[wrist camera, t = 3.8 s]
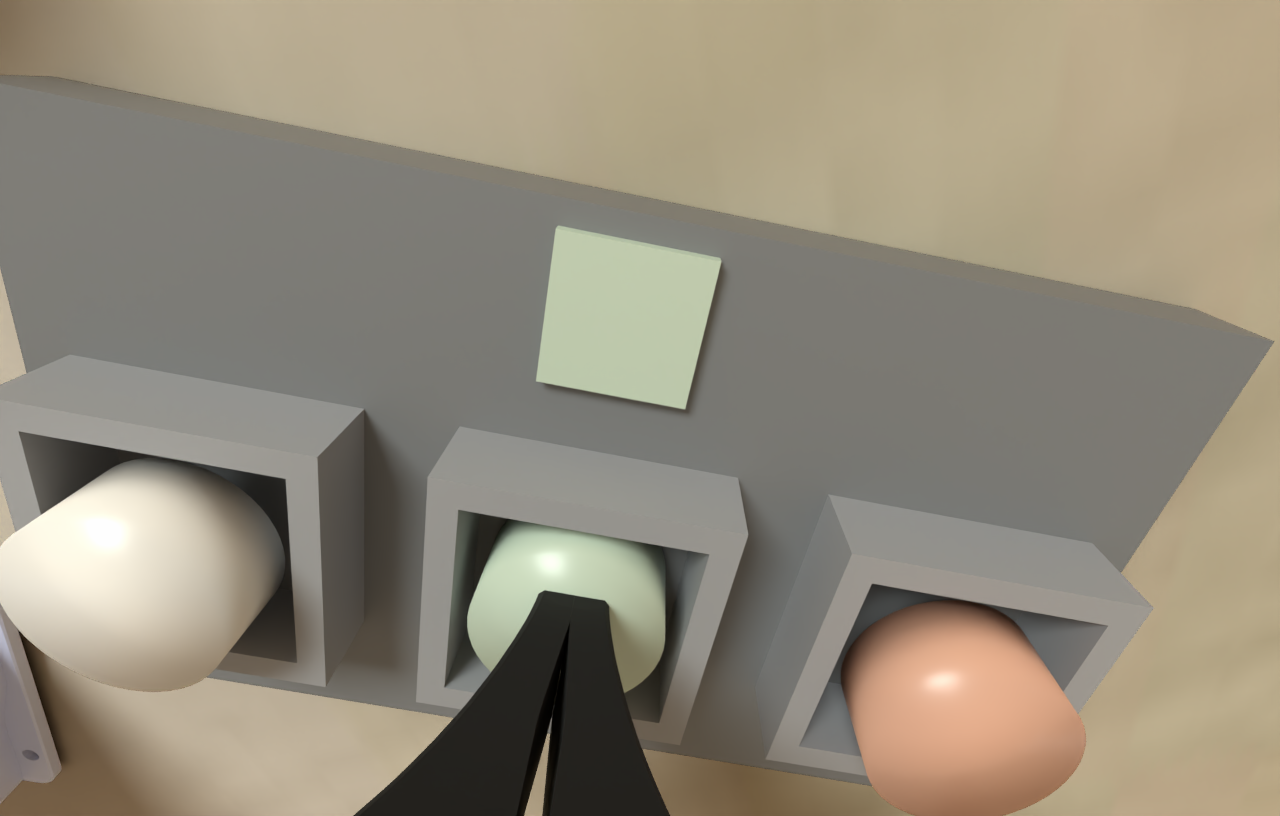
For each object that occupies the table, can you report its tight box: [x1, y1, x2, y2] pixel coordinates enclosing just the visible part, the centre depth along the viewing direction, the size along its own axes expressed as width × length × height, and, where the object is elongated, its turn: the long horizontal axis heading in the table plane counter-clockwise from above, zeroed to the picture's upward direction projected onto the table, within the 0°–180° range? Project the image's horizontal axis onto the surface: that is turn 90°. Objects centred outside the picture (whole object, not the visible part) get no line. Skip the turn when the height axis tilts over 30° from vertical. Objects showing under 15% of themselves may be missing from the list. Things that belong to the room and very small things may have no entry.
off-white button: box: [0, 458, 285, 692], centre depth 12 cm, size 4×4×2 cm
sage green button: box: [467, 519, 666, 693], centre depth 14 cm, size 4×4×2 cm
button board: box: [0, 75, 1274, 786], centre depth 15 cm, size 14×24×4 cm, turn 79°
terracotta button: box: [841, 600, 1086, 816], centre depth 13 cm, size 4×4×2 cm
